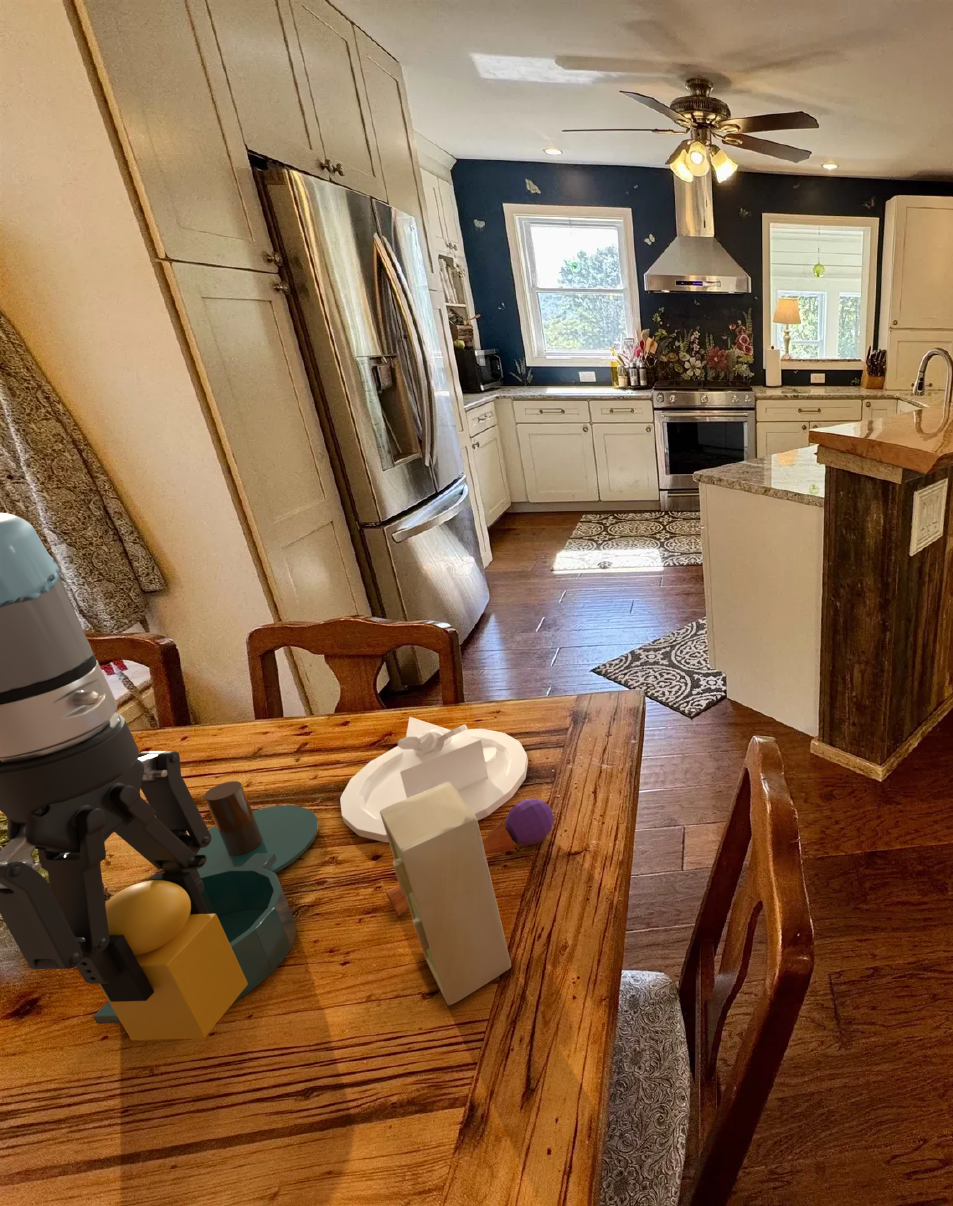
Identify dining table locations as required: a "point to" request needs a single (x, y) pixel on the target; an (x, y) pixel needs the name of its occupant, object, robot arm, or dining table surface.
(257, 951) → the pot
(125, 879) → the dining table surface
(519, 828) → the kendama
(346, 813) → the dish
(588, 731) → the dining table surface
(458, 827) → the toy refrigerator
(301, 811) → the lid
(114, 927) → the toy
